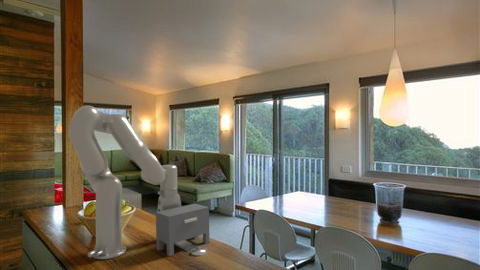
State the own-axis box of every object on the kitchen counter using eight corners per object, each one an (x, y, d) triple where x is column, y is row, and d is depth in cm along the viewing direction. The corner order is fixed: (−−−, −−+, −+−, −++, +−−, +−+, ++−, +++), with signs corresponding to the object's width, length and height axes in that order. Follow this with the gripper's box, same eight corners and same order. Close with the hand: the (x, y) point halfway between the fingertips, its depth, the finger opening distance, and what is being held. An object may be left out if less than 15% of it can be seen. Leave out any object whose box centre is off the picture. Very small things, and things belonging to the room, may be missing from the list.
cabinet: (170, 256, 116) (169, 217, 116) (156, 249, 124) (155, 212, 124) (210, 242, 131) (210, 207, 130) (195, 237, 138) (195, 203, 138)
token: (202, 257, 117) (202, 253, 116) (188, 255, 118) (188, 252, 118) (208, 251, 122) (208, 247, 122) (194, 249, 124) (194, 246, 124)
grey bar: (188, 252, 121) (188, 230, 121) (159, 236, 137) (159, 217, 137) (198, 248, 124) (198, 227, 124) (168, 233, 141) (168, 215, 140)
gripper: (156, 196, 127) (157, 239, 127) (188, 190, 138) (189, 230, 138) (148, 194, 132) (149, 235, 132) (179, 188, 144) (180, 227, 144)
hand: (169, 232), depth 135 cm, fingers closed on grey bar, 2 cm apart
